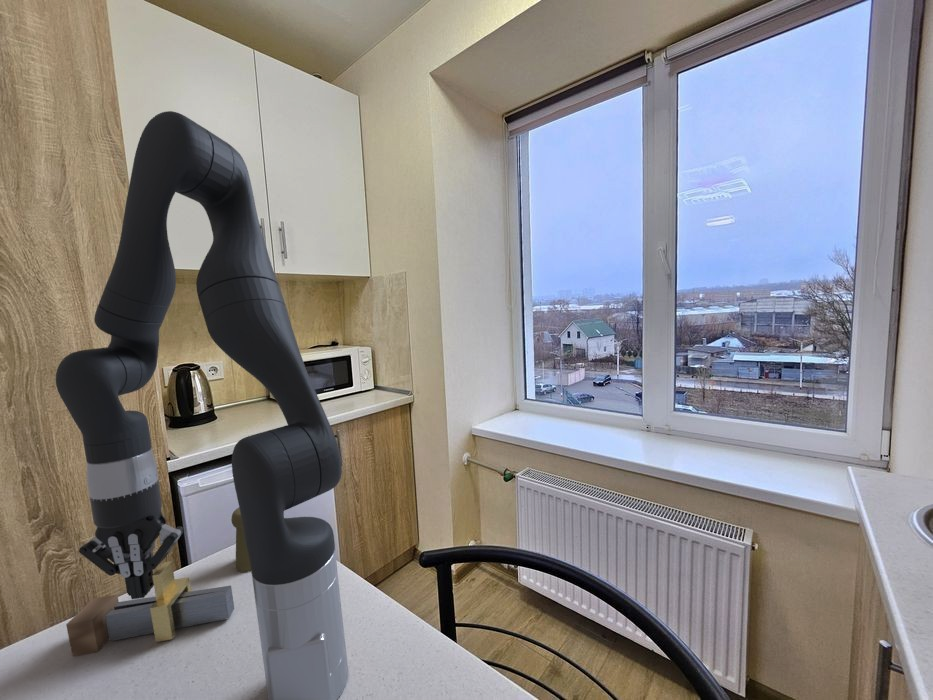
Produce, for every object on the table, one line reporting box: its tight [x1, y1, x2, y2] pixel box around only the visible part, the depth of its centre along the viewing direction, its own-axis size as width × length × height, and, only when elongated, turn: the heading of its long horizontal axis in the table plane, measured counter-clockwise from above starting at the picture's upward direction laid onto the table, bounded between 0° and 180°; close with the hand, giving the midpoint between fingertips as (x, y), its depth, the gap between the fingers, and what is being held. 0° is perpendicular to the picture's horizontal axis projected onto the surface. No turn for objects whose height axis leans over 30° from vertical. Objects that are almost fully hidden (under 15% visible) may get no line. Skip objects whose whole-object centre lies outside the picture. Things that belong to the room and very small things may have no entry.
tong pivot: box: [65, 594, 120, 657], centre depth 57 cm, size 3×5×5 cm, turn 10°
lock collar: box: [150, 560, 192, 643], centre depth 59 cm, size 2×6×9 cm, turn 10°
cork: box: [231, 507, 251, 573], centre depth 73 cm, size 6×6×11 cm
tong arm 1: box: [105, 590, 233, 642], centre depth 58 cm, size 16×1×4 cm, turn 101°
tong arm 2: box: [114, 585, 235, 614], centre depth 60 cm, size 16×1×4 cm, turn 98°
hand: (141, 594), depth 58 cm, fingers closed
